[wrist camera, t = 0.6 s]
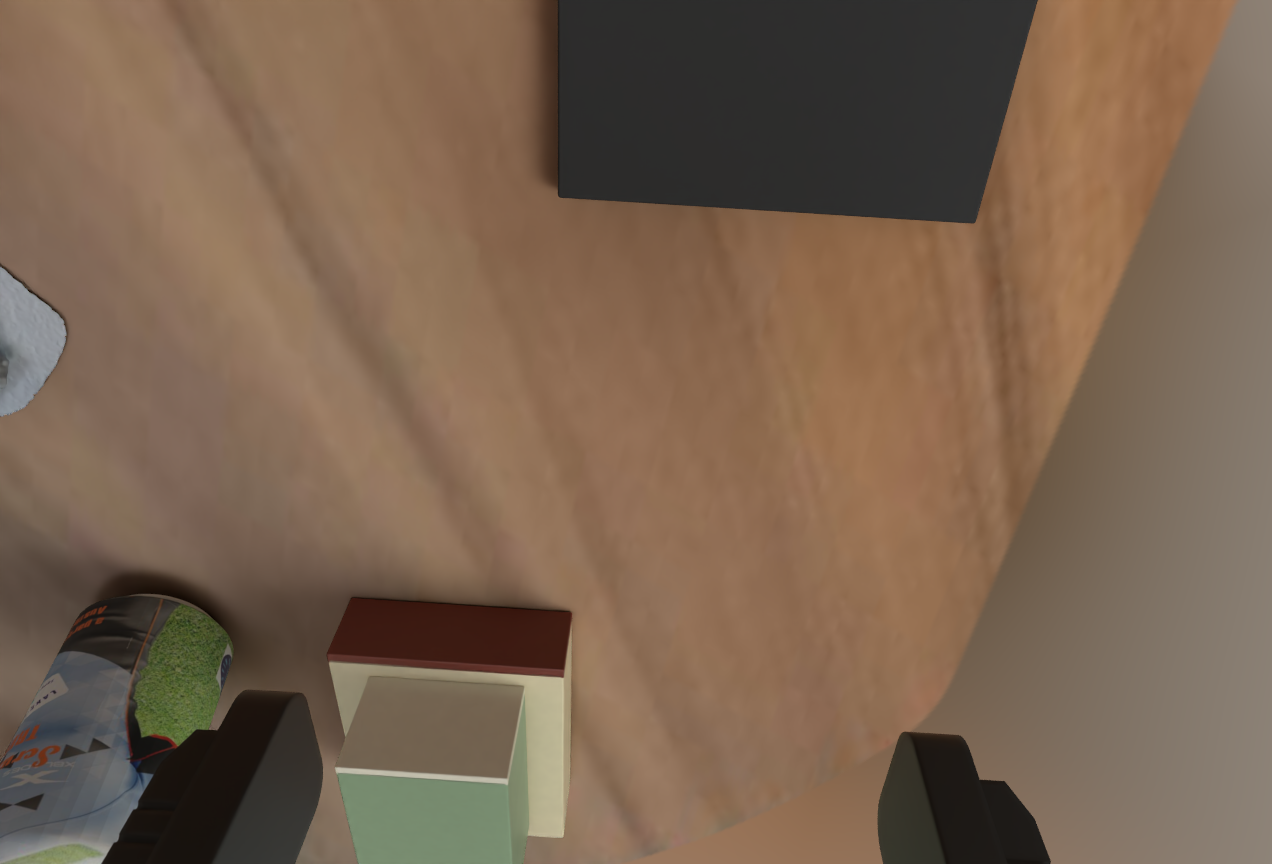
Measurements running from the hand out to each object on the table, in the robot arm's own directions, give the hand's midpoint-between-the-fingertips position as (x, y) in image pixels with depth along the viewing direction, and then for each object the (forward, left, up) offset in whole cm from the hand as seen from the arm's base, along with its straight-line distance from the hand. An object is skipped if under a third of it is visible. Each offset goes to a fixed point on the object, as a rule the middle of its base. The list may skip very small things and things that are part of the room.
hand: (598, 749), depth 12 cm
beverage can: (+18, -19, -18) cm, 31 cm away
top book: (+21, -7, -14) cm, 26 cm away
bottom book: (+21, -7, -17) cm, 28 cm away
